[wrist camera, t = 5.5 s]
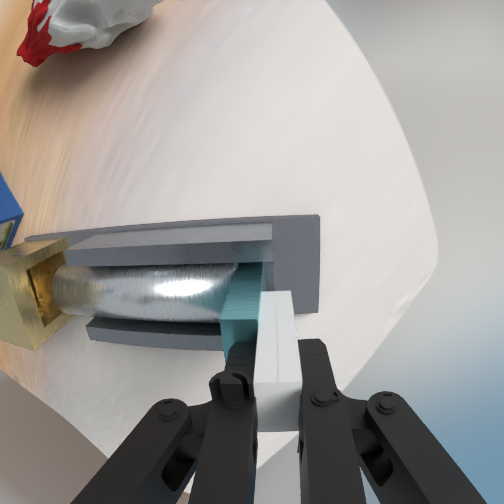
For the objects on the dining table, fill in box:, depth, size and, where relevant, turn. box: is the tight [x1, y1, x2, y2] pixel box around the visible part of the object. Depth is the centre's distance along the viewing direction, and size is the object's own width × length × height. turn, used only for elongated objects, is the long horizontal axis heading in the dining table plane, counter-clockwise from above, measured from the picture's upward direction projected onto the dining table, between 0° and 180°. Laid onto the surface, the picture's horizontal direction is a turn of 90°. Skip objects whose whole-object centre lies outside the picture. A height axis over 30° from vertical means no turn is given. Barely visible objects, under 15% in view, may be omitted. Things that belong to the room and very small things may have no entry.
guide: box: [0, 221, 275, 351], centre depth 18 cm, size 25×7×8 cm, turn 93°
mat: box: [24, 215, 320, 314], centre depth 22 cm, size 29×8×1 cm, turn 93°
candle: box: [17, 0, 164, 67], centre depth 12 cm, size 9×11×15 cm
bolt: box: [52, 262, 266, 362], centre depth 16 cm, size 16×4×8 cm, turn 93°
